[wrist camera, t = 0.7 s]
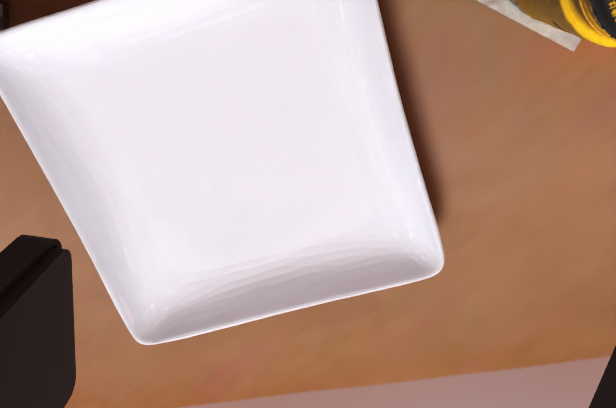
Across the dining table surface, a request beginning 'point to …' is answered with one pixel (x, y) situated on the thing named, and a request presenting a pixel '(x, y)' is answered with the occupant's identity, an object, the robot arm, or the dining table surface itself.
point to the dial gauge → (4, 16)
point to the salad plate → (224, 154)
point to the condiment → (564, 19)
